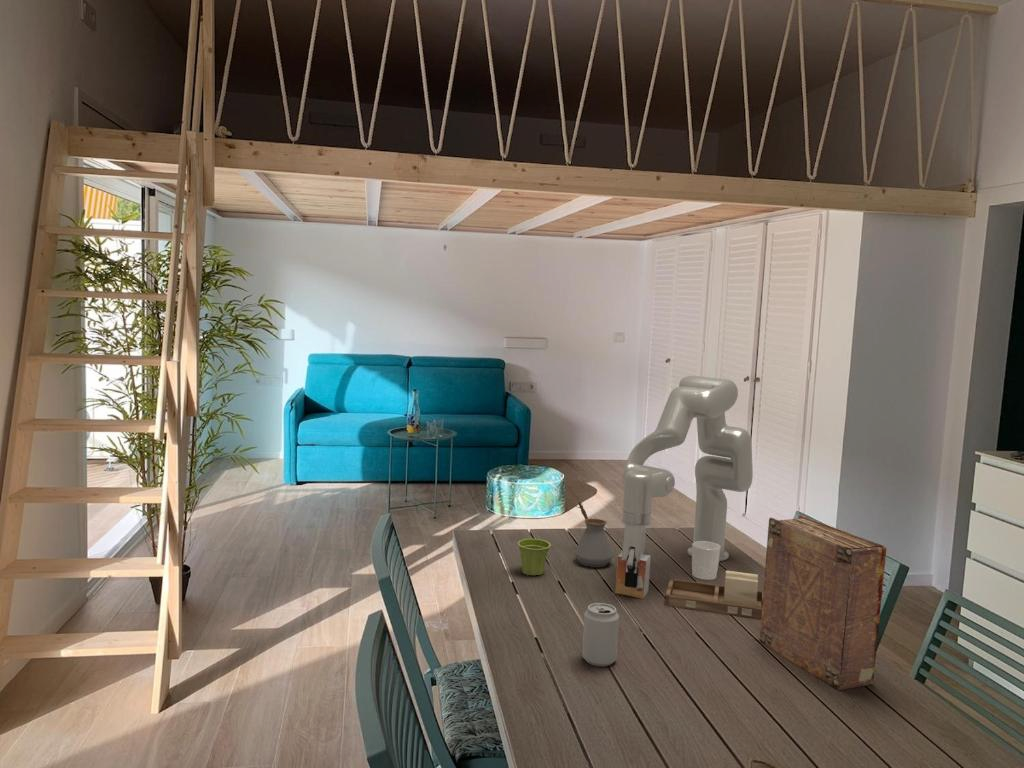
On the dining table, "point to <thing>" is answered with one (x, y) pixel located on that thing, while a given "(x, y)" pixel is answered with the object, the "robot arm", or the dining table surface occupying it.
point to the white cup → (705, 559)
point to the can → (600, 634)
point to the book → (823, 600)
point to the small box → (642, 579)
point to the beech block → (741, 588)
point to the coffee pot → (593, 543)
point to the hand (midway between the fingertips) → (632, 582)
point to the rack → (708, 599)
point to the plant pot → (533, 555)
